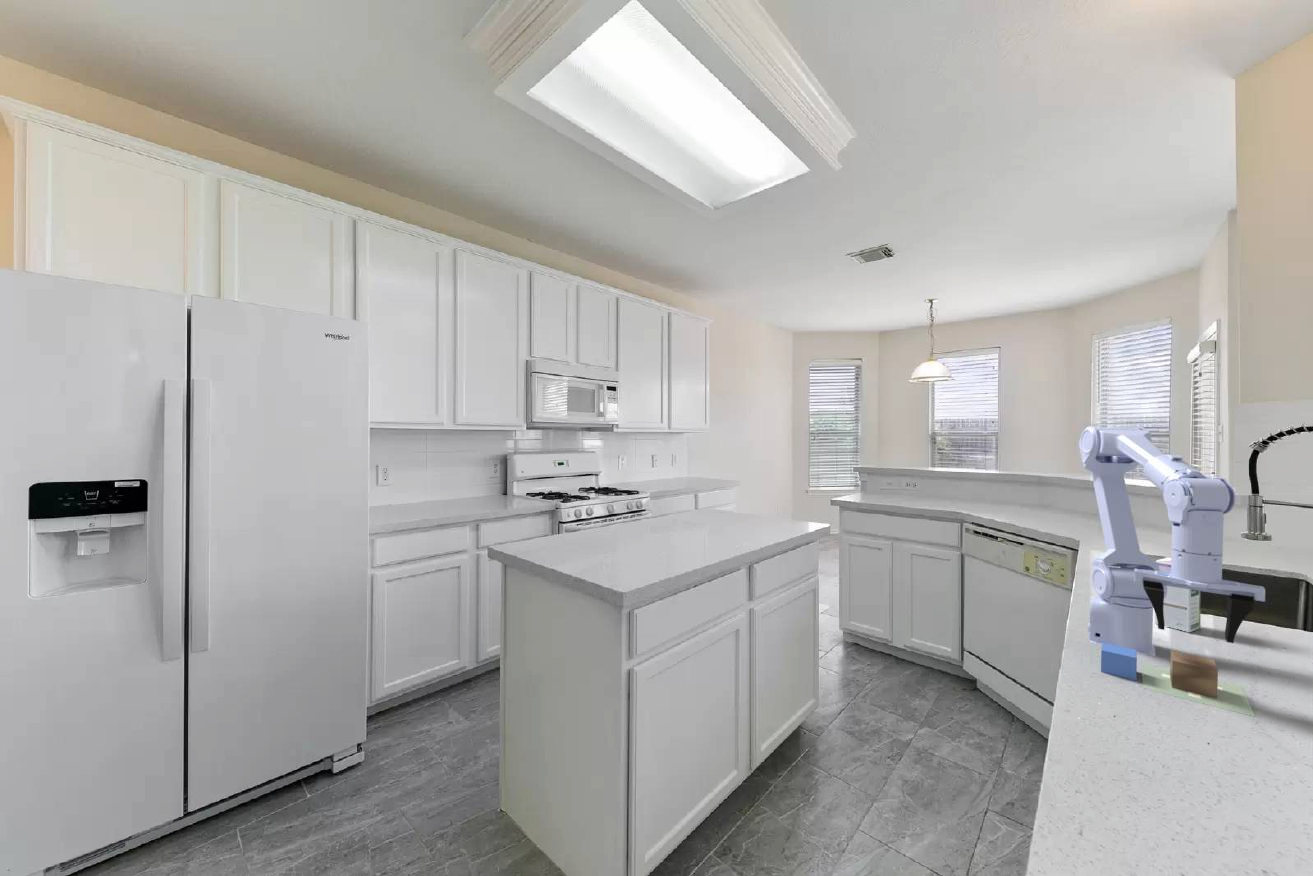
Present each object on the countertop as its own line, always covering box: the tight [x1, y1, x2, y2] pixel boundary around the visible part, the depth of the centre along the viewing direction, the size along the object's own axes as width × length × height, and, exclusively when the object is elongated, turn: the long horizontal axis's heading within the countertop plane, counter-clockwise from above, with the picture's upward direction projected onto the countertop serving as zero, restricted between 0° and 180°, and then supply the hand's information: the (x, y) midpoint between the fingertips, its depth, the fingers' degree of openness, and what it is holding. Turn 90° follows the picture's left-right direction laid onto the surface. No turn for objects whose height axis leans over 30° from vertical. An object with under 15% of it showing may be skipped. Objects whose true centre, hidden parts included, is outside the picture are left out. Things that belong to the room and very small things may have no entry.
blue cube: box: [1100, 642, 1138, 681], centre depth 89 cm, size 4×4×4 cm
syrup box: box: [1154, 556, 1202, 633], centre depth 111 cm, size 6×6×14 cm
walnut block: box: [1169, 650, 1219, 699], centre depth 84 cm, size 5×5×4 cm
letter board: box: [1141, 663, 1256, 718], centre depth 84 cm, size 12×12×1 cm
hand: (1194, 634), depth 83 cm, fingers open, 7 cm apart
